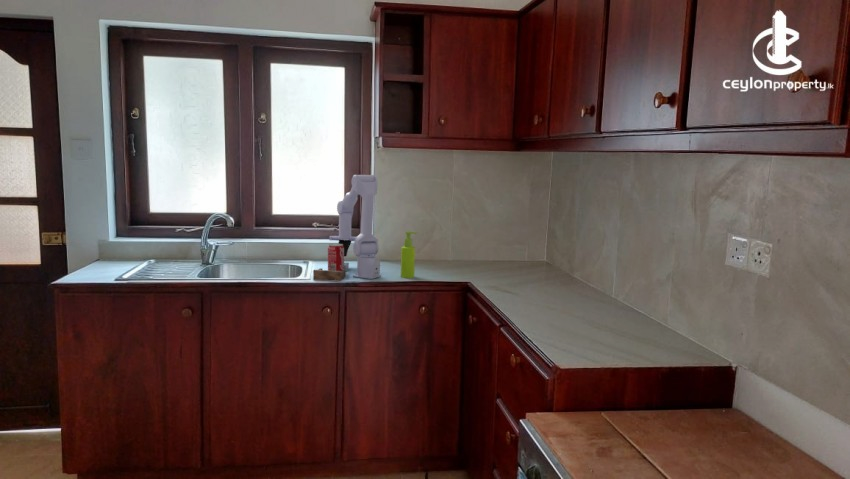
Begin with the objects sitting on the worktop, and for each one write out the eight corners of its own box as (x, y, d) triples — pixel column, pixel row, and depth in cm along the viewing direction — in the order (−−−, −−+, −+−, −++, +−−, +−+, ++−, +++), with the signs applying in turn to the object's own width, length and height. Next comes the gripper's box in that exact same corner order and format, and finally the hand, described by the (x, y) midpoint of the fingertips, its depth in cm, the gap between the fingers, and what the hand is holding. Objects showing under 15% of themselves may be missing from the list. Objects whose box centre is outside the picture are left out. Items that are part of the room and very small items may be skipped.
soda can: (342, 275, 257) (342, 245, 256) (326, 274, 257) (326, 245, 256) (345, 272, 264) (345, 243, 263) (329, 271, 264) (329, 243, 263)
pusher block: (335, 268, 273) (335, 262, 273) (348, 269, 273) (348, 262, 272) (332, 271, 266) (332, 264, 266) (345, 272, 266) (345, 265, 265)
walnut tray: (345, 276, 255) (345, 267, 254) (339, 280, 245) (340, 271, 245) (319, 275, 256) (319, 266, 256) (313, 279, 247) (313, 270, 246)
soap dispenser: (416, 278, 255) (417, 232, 252) (400, 278, 255) (401, 232, 252) (416, 275, 261) (417, 231, 258) (401, 275, 261) (402, 230, 258)
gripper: (362, 227, 278) (361, 255, 280) (332, 225, 279) (331, 253, 281) (358, 228, 271) (358, 257, 273) (328, 227, 272) (327, 256, 274)
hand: (344, 256), depth 277 cm, fingers closed
